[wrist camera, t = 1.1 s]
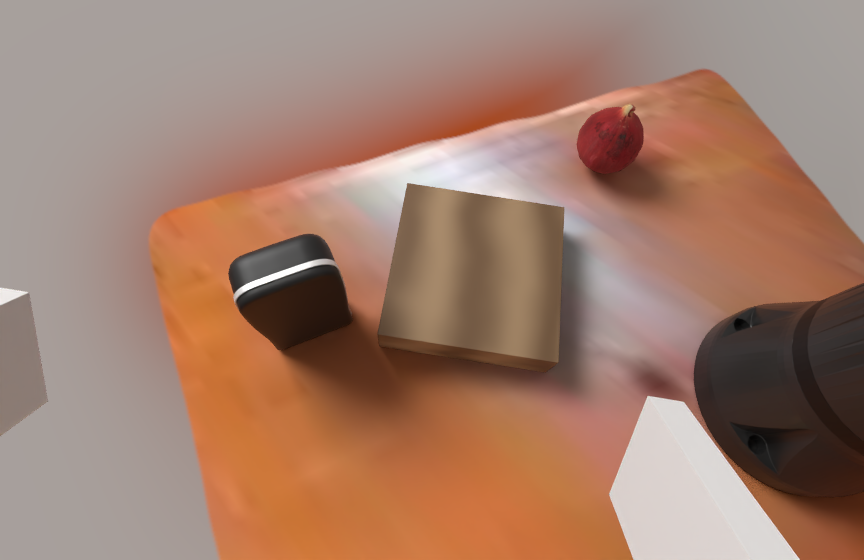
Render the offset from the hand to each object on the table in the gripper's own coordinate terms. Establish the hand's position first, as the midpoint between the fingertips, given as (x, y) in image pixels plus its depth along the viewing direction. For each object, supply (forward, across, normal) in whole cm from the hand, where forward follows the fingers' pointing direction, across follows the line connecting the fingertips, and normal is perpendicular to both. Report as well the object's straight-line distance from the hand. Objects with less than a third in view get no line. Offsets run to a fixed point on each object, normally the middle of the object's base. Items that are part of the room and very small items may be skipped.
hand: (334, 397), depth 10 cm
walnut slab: (+31, +5, -9) cm, 33 cm away
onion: (+41, +16, +2) cm, 44 cm away
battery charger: (+27, -8, -13) cm, 31 cm away
